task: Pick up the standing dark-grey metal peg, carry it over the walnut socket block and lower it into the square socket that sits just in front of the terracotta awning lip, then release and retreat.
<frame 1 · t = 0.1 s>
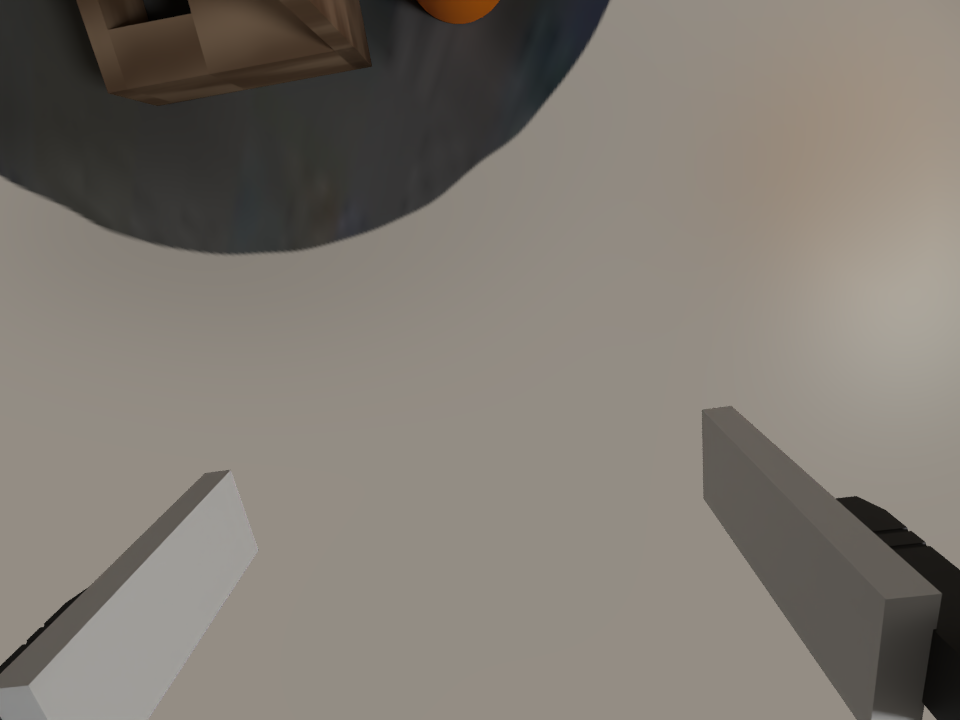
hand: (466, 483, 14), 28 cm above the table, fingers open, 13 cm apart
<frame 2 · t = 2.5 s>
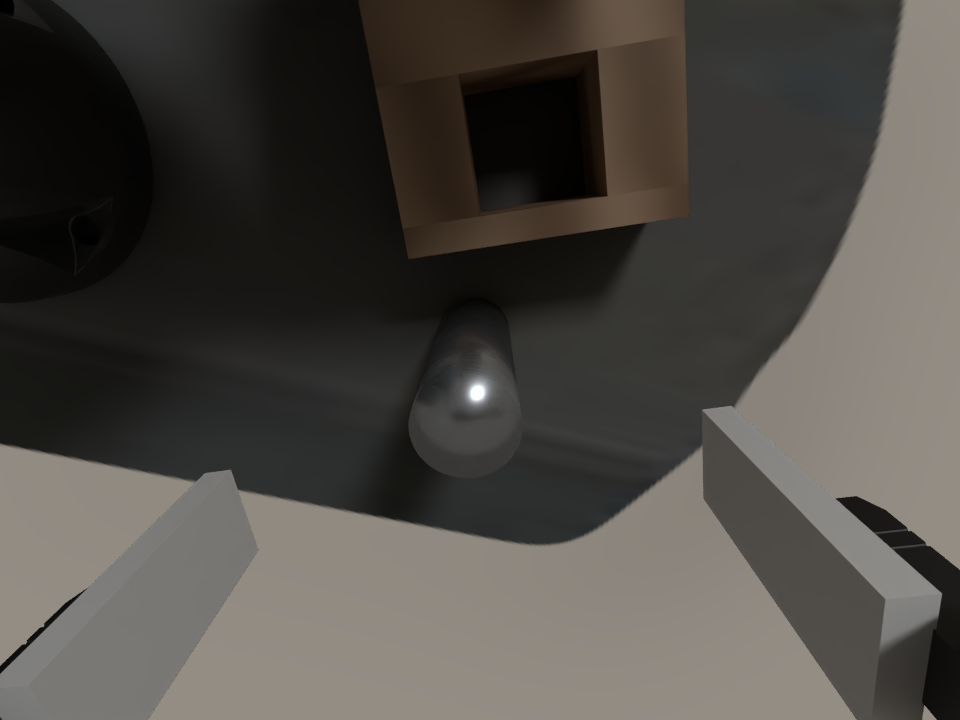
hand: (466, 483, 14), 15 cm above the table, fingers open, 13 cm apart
peg: (474, 331, 28), on the table
socket block: (516, 55, 24), on the table
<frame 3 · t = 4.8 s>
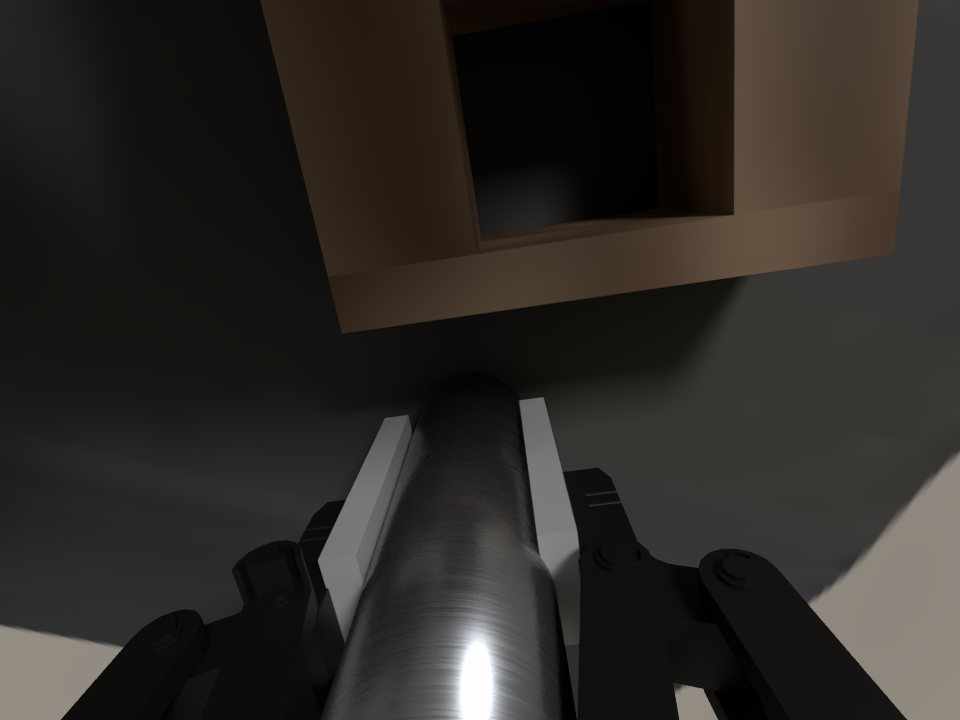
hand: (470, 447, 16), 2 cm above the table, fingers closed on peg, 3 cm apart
peg: (473, 425, 18), on the table, touching gripper
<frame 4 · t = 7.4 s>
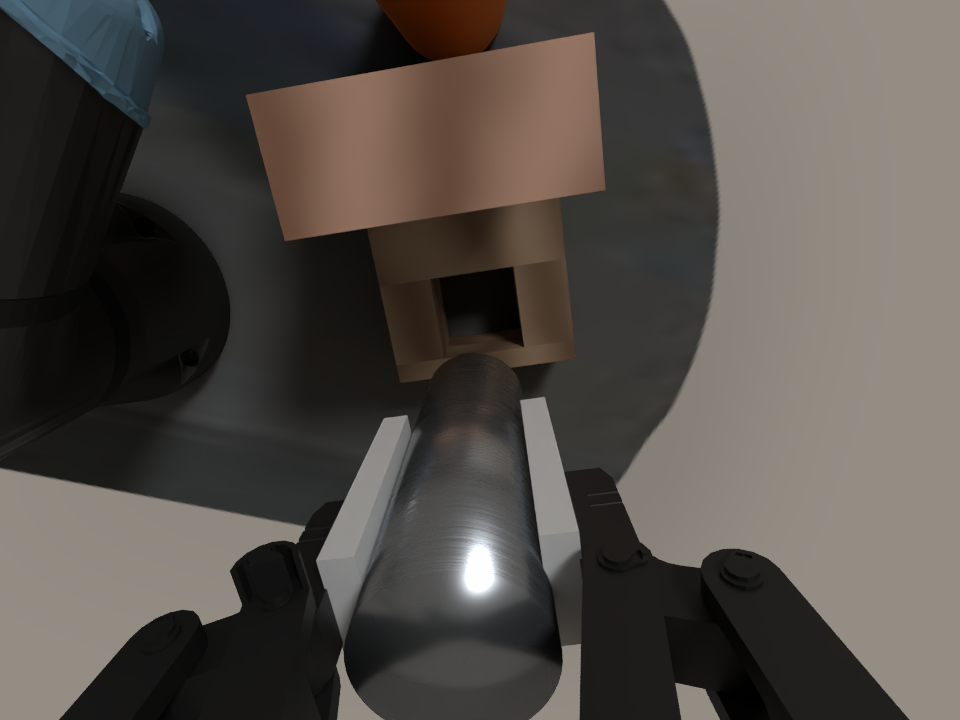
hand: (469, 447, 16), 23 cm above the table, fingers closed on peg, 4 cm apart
peg: (474, 398, 20), point 19 cm above the table, touching gripper
shaker bottle: (449, 2, 32), on the table
socket block: (470, 244, 37), on the table
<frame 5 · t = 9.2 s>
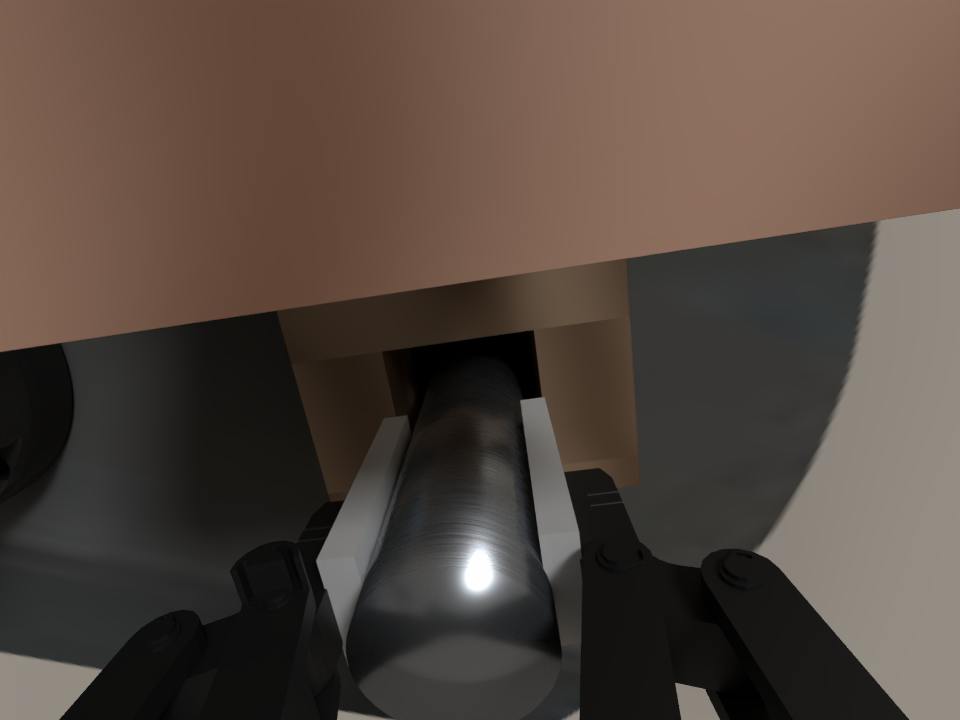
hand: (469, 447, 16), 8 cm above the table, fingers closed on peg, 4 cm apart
peg: (474, 396, 20), point 3 cm above the table, touching gripper
socket block: (458, 280, 22), on the table
when the fingers open (6 cm above the table, at t = 10.4 s): peg drops 2 cm, resting in socket block.
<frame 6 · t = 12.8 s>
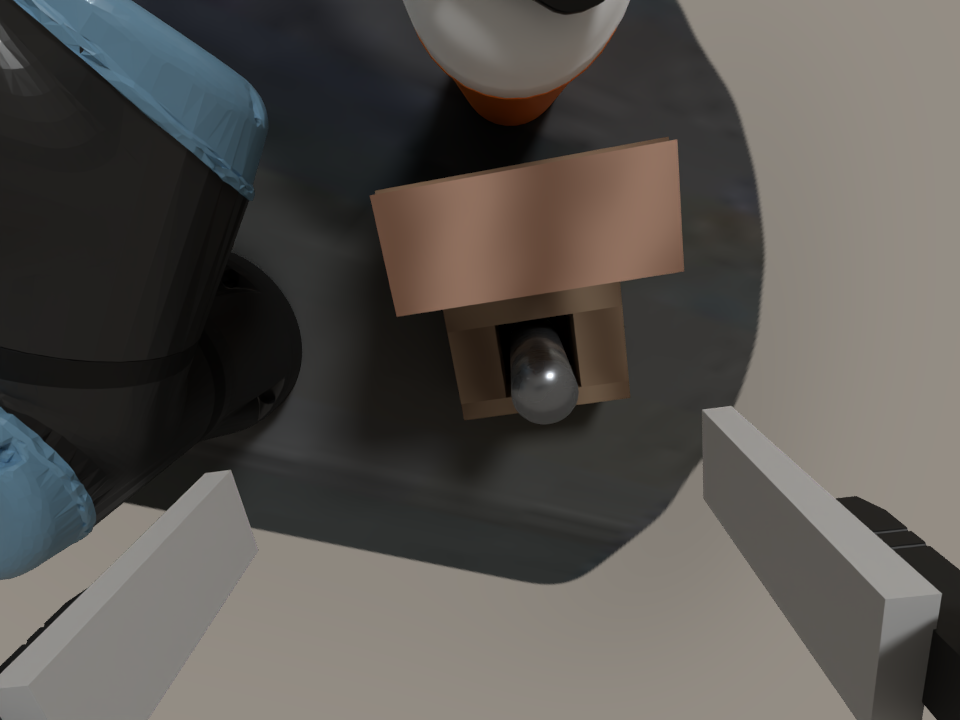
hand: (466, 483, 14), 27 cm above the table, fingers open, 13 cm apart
peg: (533, 339, 40), resting in socket block
shaker bottle: (511, 70, 35), on the table
socket block: (527, 288, 39), on the table
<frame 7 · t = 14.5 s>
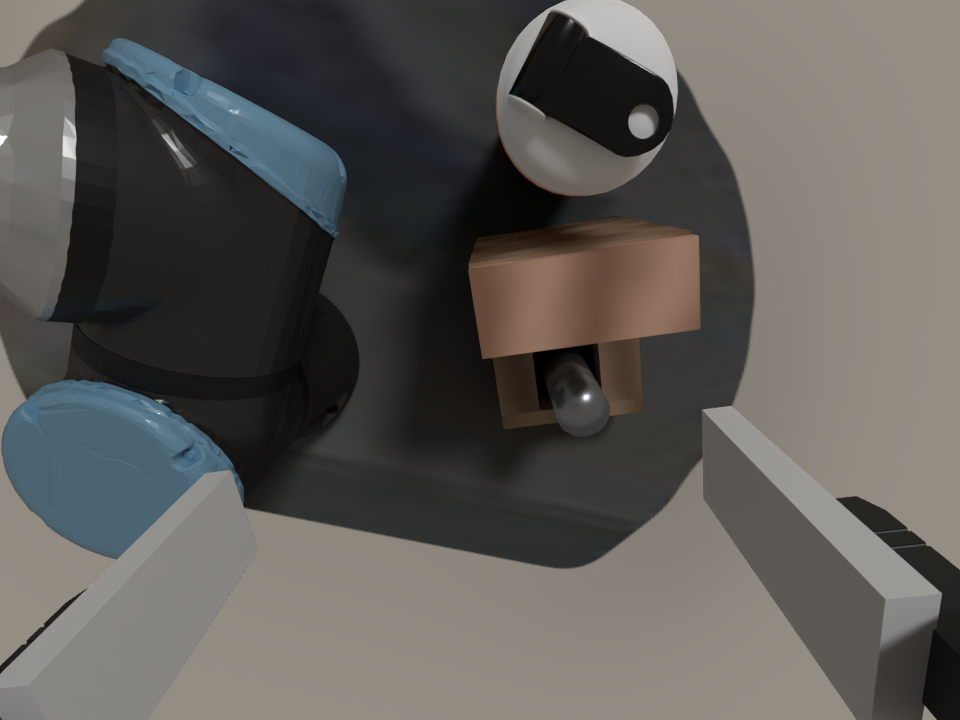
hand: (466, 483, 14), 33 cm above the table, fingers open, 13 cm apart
peg: (559, 359, 47), resting in socket block
shaker bottle: (548, 137, 42), on the table
socket block: (555, 317, 46), on the table
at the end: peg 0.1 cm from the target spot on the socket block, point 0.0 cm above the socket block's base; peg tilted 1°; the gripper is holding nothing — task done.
